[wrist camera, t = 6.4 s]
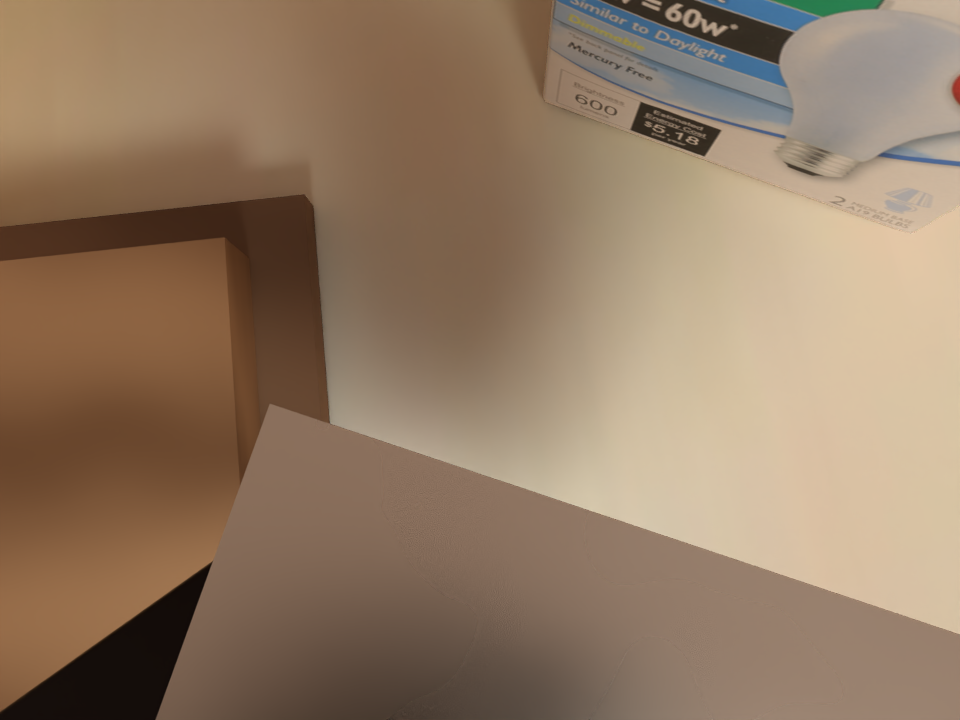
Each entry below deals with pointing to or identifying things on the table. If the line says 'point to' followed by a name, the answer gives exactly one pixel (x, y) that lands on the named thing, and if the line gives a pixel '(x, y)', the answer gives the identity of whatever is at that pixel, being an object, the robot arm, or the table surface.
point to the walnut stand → (138, 405)
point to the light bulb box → (780, 92)
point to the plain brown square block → (512, 609)
